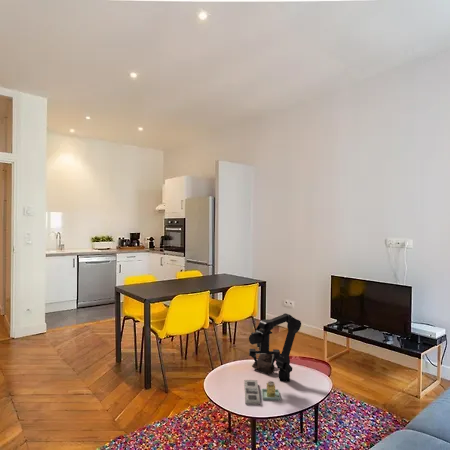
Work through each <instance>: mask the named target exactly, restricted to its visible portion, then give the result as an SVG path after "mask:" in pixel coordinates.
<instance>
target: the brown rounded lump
mask: <svg viewBox="0 0 450 450" xmlns="http://www.w3.org/2000/svg"><path fill="white" fill-rule="evenodd" d="M271 363H272V355H270V354H259V356H258V358H257V367H256V363H255V361H254V362H253V364H252V365H251V367H252V368H253V369H255V370H258V371H262V372H263V373H264V374H268V375H270V374H273V373H274V371H275V363H274V364H273V366H272V367H271Z"/></svg>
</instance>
